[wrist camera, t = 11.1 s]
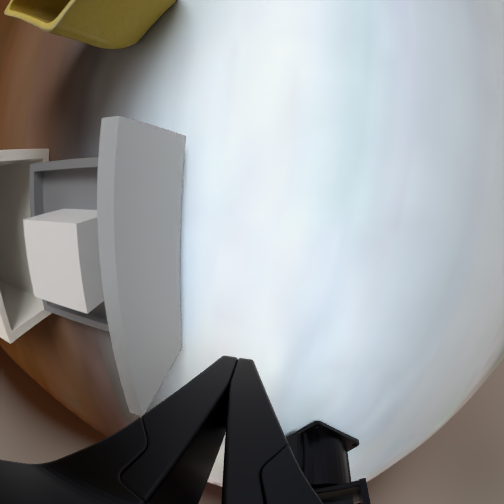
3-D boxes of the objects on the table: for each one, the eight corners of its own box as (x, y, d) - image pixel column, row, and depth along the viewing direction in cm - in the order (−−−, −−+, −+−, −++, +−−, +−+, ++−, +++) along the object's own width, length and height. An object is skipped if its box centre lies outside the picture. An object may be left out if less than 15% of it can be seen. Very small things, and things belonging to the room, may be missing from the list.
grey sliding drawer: (59, 313, 20) (8, 352, 13) (47, 147, 16) (-24, 150, 9) (182, 347, 19) (142, 416, 12) (186, 136, 15) (119, 115, 8)
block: (63, 208, 16) (23, 219, 12) (117, 211, 15) (76, 223, 12) (69, 275, 17) (34, 296, 13) (122, 286, 17) (87, 313, 13)
